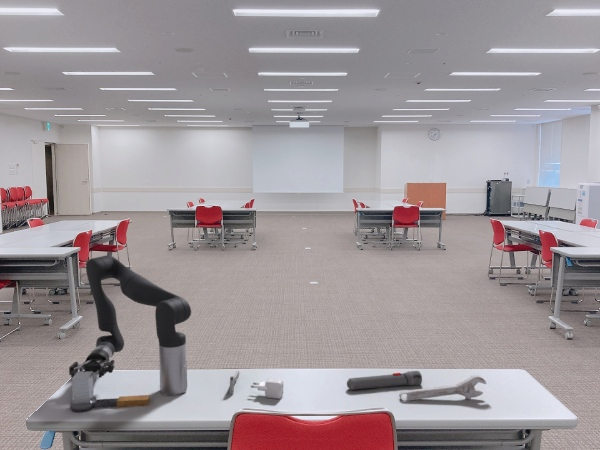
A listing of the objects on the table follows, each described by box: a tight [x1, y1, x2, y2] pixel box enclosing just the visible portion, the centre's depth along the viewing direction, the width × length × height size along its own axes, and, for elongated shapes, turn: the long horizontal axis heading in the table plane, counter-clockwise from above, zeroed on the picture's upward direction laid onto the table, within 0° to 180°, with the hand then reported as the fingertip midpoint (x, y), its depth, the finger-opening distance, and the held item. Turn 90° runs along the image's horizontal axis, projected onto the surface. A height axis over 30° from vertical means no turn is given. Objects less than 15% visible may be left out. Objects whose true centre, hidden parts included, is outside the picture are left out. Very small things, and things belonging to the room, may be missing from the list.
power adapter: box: [250, 377, 284, 400], centre depth 168 cm, size 11×5×6 cm, turn 76°
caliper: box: [229, 370, 240, 396], centre depth 179 cm, size 20×1×6 cm, turn 0°
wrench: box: [399, 374, 487, 402], centre depth 166 cm, size 8×2×30 cm
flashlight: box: [346, 370, 423, 391], centre depth 176 cm, size 5×28×5 cm, turn 103°
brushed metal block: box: [71, 371, 95, 405], centre depth 159 cm, size 5×5×9 cm
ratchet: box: [69, 394, 151, 413], centre depth 161 cm, size 25×8×6 cm, turn 98°
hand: (86, 375), depth 163 cm, fingers open, 8 cm apart
